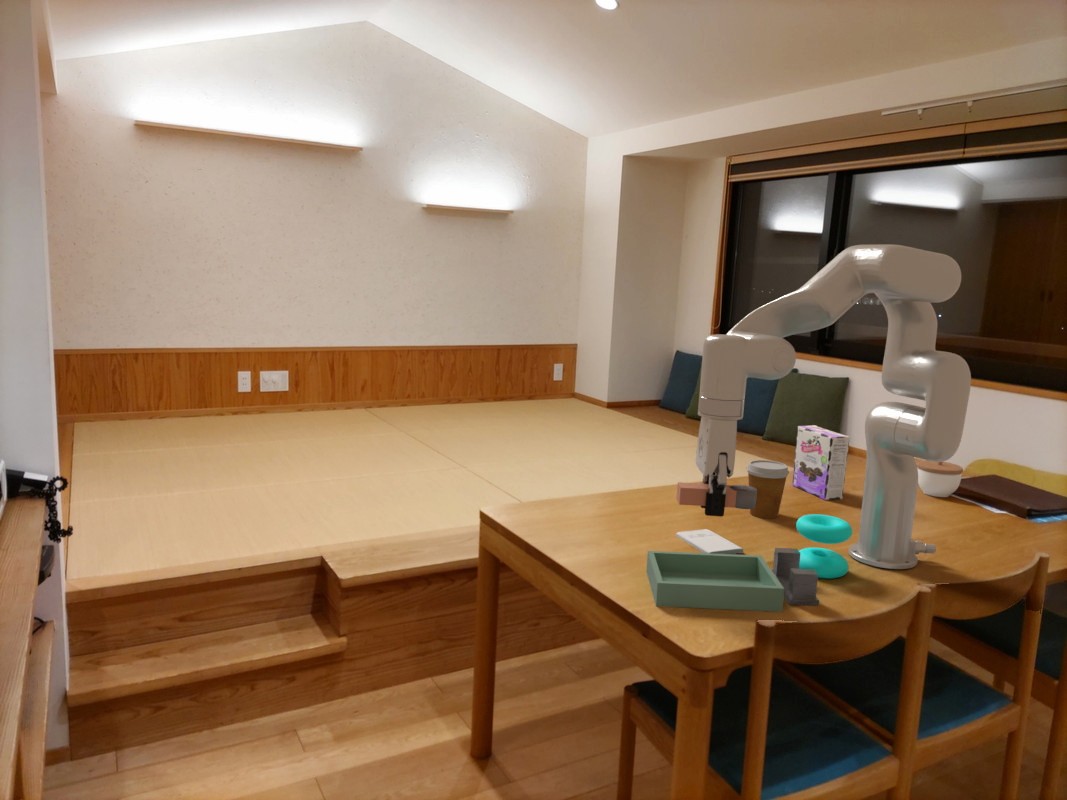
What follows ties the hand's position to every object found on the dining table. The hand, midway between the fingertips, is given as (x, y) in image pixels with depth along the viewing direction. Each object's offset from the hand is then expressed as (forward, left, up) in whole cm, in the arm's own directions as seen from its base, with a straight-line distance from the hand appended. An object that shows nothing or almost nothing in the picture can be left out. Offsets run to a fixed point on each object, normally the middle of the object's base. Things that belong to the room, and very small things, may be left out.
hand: (711, 510), depth 135 cm
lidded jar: (-73, -70, -15) cm, 102 cm away
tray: (-1, 0, -15) cm, 15 cm away
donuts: (-24, -12, -15) cm, 31 cm away
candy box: (-41, -67, -15) cm, 80 cm away
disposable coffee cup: (-22, -46, -15) cm, 53 cm away
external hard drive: (-5, -24, -16) cm, 29 cm away
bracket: (-16, -2, -15) cm, 22 cm away
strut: (0, 0, +1) cm, 1 cm away
